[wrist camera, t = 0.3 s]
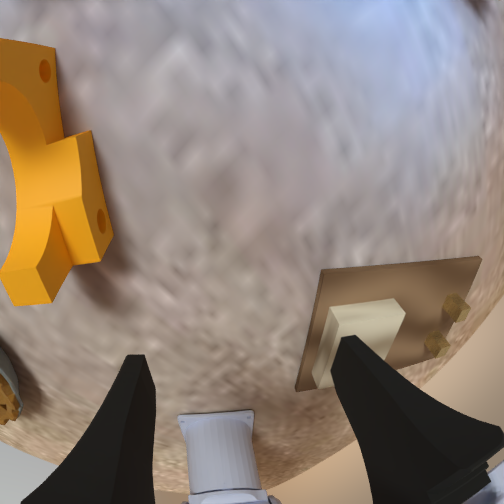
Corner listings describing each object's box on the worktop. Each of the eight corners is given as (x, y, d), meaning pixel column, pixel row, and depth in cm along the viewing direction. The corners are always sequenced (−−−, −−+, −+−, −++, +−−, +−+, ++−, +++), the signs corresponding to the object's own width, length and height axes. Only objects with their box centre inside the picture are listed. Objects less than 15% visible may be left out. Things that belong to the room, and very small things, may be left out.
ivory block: (367, 361, 27) (375, 376, 25) (311, 372, 26) (317, 389, 24) (393, 298, 23) (405, 313, 21) (329, 306, 22) (339, 324, 20)
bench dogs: (433, 339, 28) (444, 355, 25) (424, 342, 27) (435, 358, 25) (456, 292, 24) (470, 308, 22) (447, 294, 24) (461, 310, 22)
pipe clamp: (114, 233, 17) (83, 300, 11) (57, 243, 16) (14, 306, 11) (83, 38, 11) (24, 18, 5) (21, 63, 10) (-49, 64, 5)
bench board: (431, 354, 30) (433, 357, 30) (294, 387, 27) (296, 392, 27) (478, 256, 23) (482, 259, 23) (321, 269, 21) (324, 274, 20)
